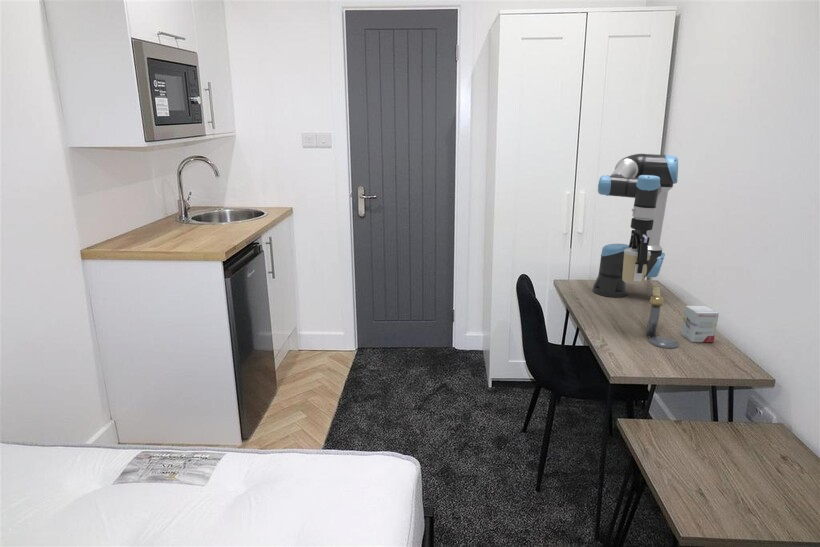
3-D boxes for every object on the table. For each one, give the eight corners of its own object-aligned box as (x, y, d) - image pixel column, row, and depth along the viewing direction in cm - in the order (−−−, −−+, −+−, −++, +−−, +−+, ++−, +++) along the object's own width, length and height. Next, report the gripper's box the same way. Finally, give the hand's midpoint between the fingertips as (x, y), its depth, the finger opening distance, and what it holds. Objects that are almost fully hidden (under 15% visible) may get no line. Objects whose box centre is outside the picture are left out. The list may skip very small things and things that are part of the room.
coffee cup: (649, 285, 201) (654, 254, 197) (623, 283, 202) (628, 252, 198) (642, 278, 209) (647, 248, 206) (617, 277, 210) (621, 246, 207)
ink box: (701, 334, 210) (707, 305, 207) (713, 342, 202) (720, 312, 199) (679, 333, 210) (684, 304, 207) (691, 342, 202) (697, 312, 199)
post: (647, 333, 209) (652, 302, 206) (656, 335, 207) (661, 304, 204) (645, 336, 206) (650, 304, 203) (654, 338, 205) (660, 306, 201)
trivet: (650, 335, 207) (651, 334, 207) (679, 341, 202) (680, 340, 202) (646, 344, 199) (647, 342, 198) (676, 350, 194) (677, 349, 194)
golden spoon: (661, 293, 216) (662, 287, 216) (662, 306, 201) (664, 299, 200) (649, 291, 218) (650, 285, 217) (649, 304, 202) (651, 298, 201)
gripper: (624, 212, 209) (616, 269, 216) (641, 223, 189) (631, 285, 195) (644, 214, 209) (635, 270, 215) (663, 224, 188) (653, 286, 195)
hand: (633, 277), depth 205 cm, fingers closed on coffee cup, 9 cm apart
